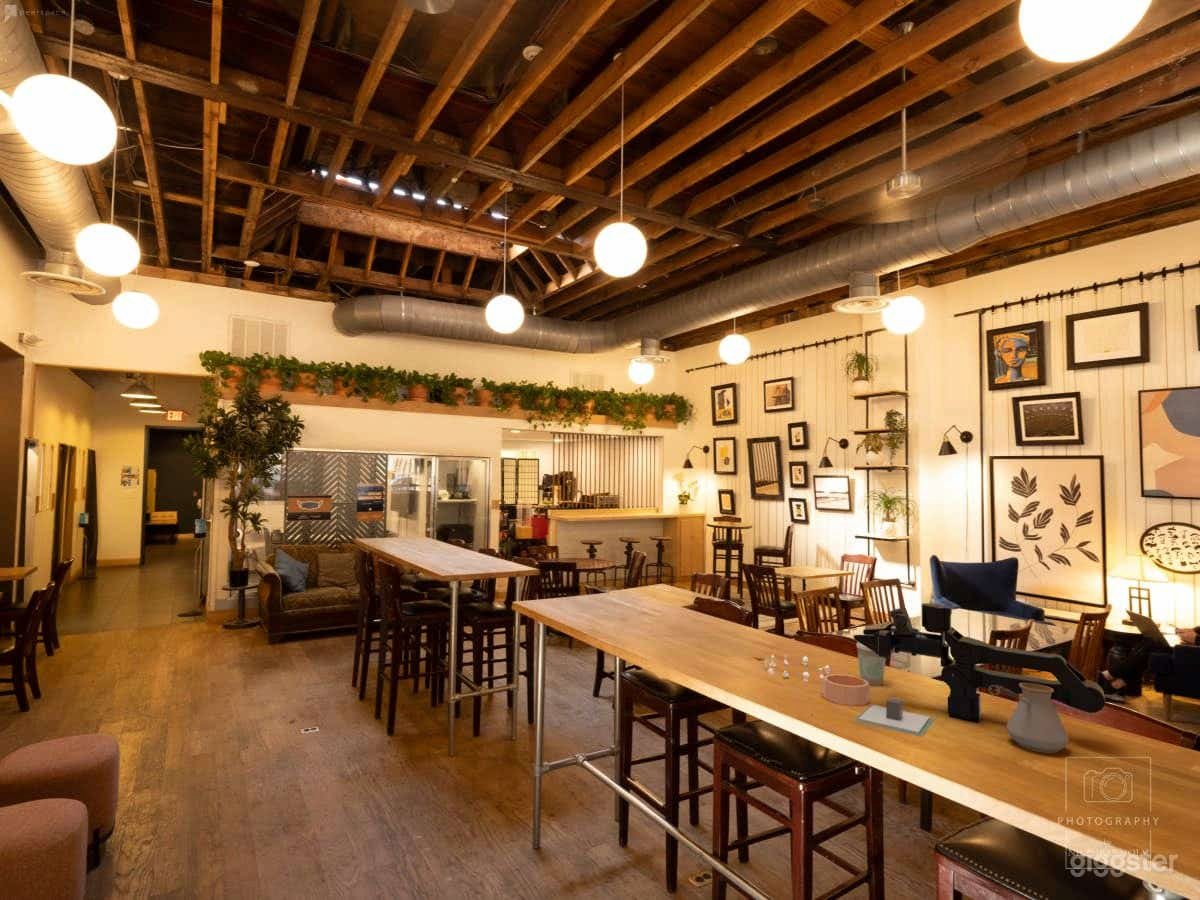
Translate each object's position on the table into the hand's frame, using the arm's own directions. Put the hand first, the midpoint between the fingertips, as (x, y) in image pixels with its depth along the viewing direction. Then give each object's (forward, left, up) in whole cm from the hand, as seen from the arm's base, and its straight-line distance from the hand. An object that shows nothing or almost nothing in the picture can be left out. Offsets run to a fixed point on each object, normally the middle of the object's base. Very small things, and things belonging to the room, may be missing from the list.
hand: (858, 634), depth 176 cm
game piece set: (+22, -12, -17) cm, 30 cm away
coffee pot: (-38, +14, -17) cm, 44 cm away
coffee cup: (+1, -16, -17) cm, 23 cm away
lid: (-12, +15, -16) cm, 25 cm away
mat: (-12, +15, -16) cm, 26 cm away
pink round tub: (+2, +6, -16) cm, 18 cm away
